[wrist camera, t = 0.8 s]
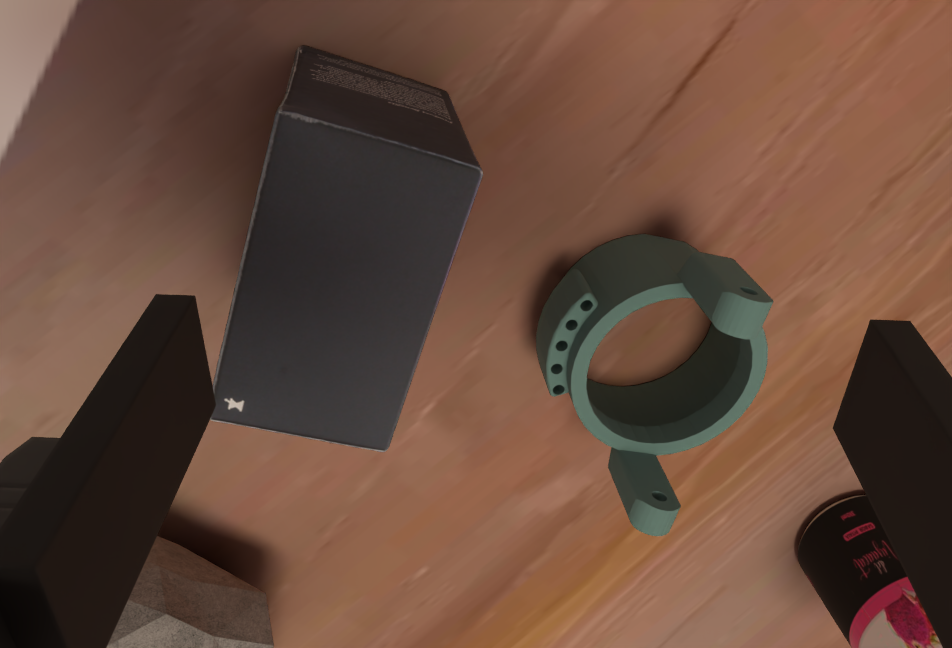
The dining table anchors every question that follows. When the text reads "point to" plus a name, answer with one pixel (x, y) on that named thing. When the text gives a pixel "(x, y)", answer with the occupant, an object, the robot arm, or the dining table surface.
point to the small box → (344, 253)
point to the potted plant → (191, 605)
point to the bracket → (671, 397)
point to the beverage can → (863, 579)
